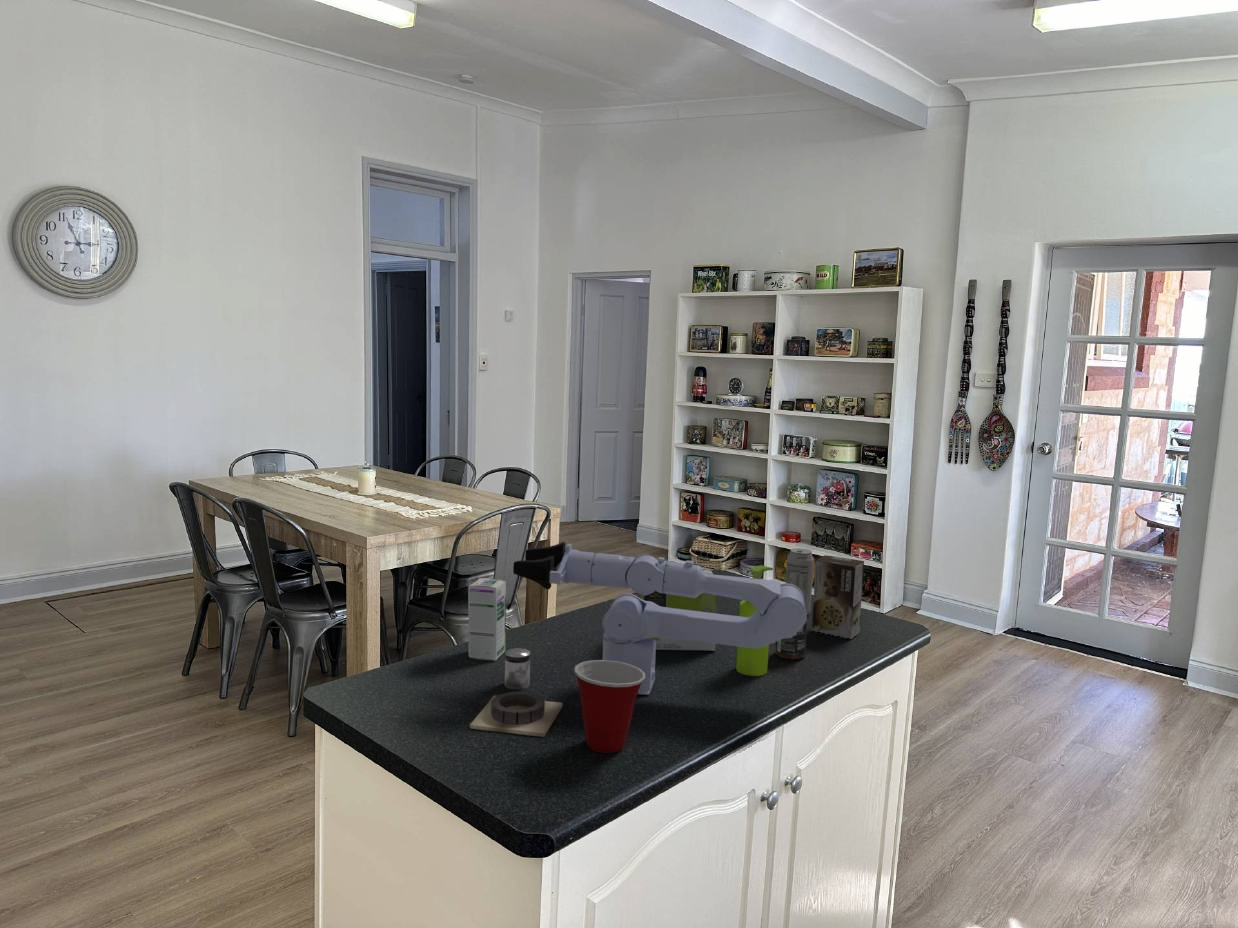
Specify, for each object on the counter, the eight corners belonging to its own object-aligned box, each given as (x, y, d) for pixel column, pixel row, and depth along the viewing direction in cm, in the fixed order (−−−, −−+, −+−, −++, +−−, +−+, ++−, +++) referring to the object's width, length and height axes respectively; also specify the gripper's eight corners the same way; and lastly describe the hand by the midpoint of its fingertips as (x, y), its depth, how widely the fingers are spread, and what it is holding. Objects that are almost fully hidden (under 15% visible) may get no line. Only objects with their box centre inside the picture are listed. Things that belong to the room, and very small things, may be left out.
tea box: (709, 636, 187) (712, 568, 185) (715, 652, 177) (719, 581, 175) (638, 634, 186) (641, 566, 184) (641, 650, 176) (644, 579, 174)
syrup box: (496, 661, 167) (497, 587, 166) (466, 658, 169) (467, 584, 167) (506, 651, 173) (507, 579, 171) (477, 648, 174) (478, 576, 172)
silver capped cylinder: (532, 681, 158) (533, 649, 157) (525, 690, 154) (526, 657, 153) (508, 678, 159) (509, 646, 158) (501, 688, 155) (501, 655, 154)
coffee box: (860, 632, 193) (865, 560, 191) (851, 640, 187) (856, 566, 185) (820, 624, 198) (825, 553, 195) (810, 631, 192) (814, 559, 190)
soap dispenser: (776, 669, 169) (782, 567, 166) (755, 678, 164) (761, 573, 161) (750, 661, 172) (756, 561, 170) (729, 669, 167) (735, 567, 165)
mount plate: (562, 706, 148) (562, 691, 148) (543, 736, 136) (544, 720, 136) (493, 698, 150) (494, 684, 150) (469, 728, 138) (470, 712, 138)
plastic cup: (656, 750, 133) (660, 674, 131) (595, 767, 127) (598, 687, 125) (617, 723, 142) (620, 652, 140) (559, 737, 136) (561, 663, 134)
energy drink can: (814, 614, 205) (819, 551, 203) (801, 619, 200) (806, 555, 198) (792, 608, 209) (796, 546, 207) (778, 613, 204) (782, 550, 202)
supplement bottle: (782, 648, 181) (785, 594, 179) (809, 654, 177) (813, 600, 176) (769, 656, 176) (773, 601, 174) (797, 663, 172) (801, 607, 171)
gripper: (602, 536, 163) (531, 529, 165) (586, 558, 149) (509, 550, 151) (601, 573, 164) (530, 565, 166) (584, 598, 150) (507, 590, 152)
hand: (520, 561), depth 158 cm, fingers open, 7 cm apart
